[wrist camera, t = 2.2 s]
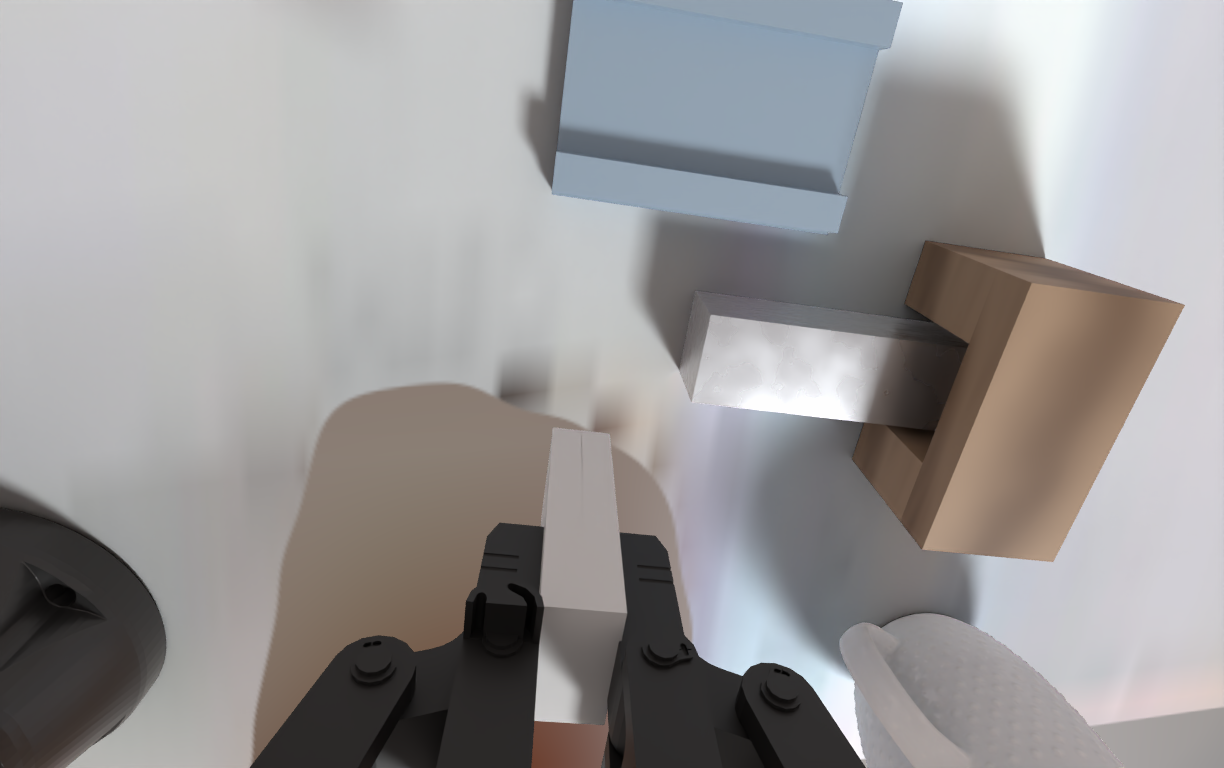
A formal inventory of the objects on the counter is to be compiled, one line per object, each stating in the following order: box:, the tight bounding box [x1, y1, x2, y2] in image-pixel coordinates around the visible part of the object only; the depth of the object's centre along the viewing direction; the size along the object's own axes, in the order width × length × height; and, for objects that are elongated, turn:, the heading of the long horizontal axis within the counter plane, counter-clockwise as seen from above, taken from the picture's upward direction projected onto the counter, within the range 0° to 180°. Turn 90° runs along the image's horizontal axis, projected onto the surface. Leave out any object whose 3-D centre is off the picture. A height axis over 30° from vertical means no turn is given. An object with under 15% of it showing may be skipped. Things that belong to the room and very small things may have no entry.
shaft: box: [679, 290, 969, 431], centre depth 30 cm, size 15×4×4 cm, turn 81°
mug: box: [839, 613, 1125, 768], centre depth 33 cm, size 15×11×13 cm
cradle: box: [552, 0, 903, 235], centre depth 26 cm, size 12×9×2 cm
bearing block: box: [852, 241, 1185, 562], centre depth 29 cm, size 6×12×8 cm, turn 171°
